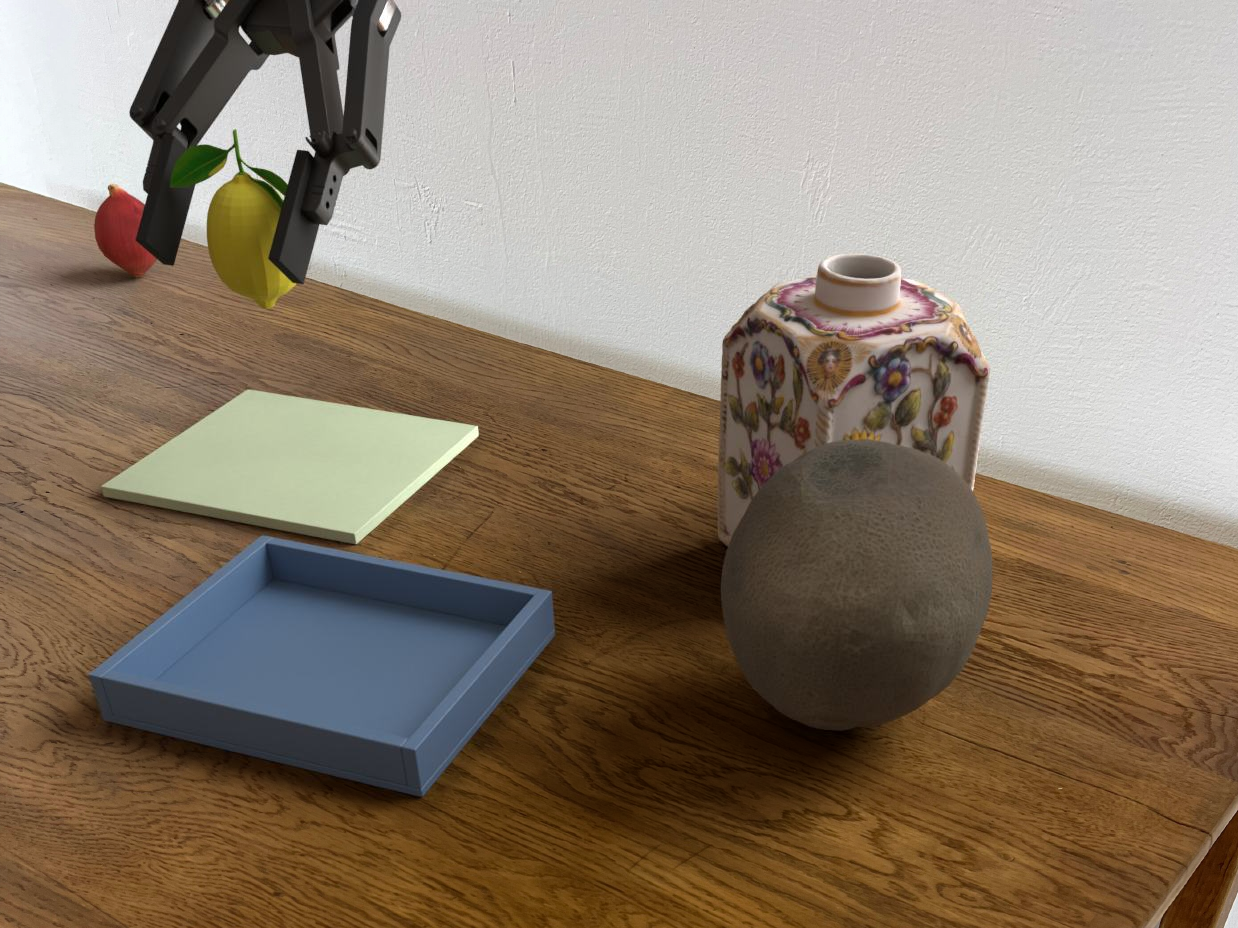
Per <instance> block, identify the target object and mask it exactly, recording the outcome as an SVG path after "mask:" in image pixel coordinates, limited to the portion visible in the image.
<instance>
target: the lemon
mask: <svg viewBox="0 0 1238 928" xmlns="http://www.w3.org/2000/svg"><path fill="white" fill-rule="evenodd" d="M232 137H233V144H232V145H231V146H230V147H229V148H227V149H225V148H224V149H223V148H221V147H217V146H215V145H211V144H198V145H197V146H193V147H190V148H188V149H187V150H186V151H185V152H184V153H183V154H182V155H181V156H180V158H179V159H178V160H177V162H176V164H175V167H174V169H173V172H172V175H171V182H170V187H171V188H173V187H188V186H192V185H195V184H196V185H197V184H200V183H202V182H204V181H207V180H208V179H210V178H212V177H213V176H214V175H216V174H217V173H219V172H220V171H221V170H223V168H224V167H225V165H226V164H227V161H228V156H229V153H230V152H231V151H232V150H234V152H235V158H236V163H237V167H238V172H236V173H235V174H234V176H233V177H232V179H231V180H229V181H227V182H225V183H223V184H222V185H221V186H220V187H219V188H218V189H217V190H216V191H215V193H214V194H213V196H212V197H211V200H210V203H209V206H208V210H207V214H206V215H207V216H206V242H207V249H208V254H209V258H210V261H211V264H212V266H213V269H214V271H215V272H216V274H217V276H218V277H219V279H220V281H221V282H222V283H223V284H224V285H225V286H226V287H227V288H228V289H230V290H231V291H232V292H234V293H236V294H237V295H240V296H242V297H244V298H246V299H247V298H248V299H250V300H252V301H254V302H255V303H256V304H257V305H258V306H259V307H260V308H261V309H265V310H269V309H272V308H274V306H275V304H276V302H277V300H278V299H279V298H280V297H282V296H284V295H286V294H288V292H290V291H291V290H292V289H293V288H294V287H295V286H296V285H298V284H297V283H292V282H291V281H290V280H289V279H288V278H287V277H286V276H285V275H284V274H283V273H282V272H281V271H280V270H279V269H278V268H277V267H276V266H275V265H274V264H273V263H272V262H271V261H270V260H269V259H268V257H269V253H270V249H271V246H272V242H273V238H274V234H275V231H276V227H277V223H278V219H279V216H280V212H281V208H282V204H283V201H284V197H285V193H286V189H287V186H288V182H286V181H285V180H284V179H283V178H282V177H281V176H280V175H278V174H277V173H275V172H273V171H271V170H268V169H265V168H259V167H254V166H250V165H249V164H248V163H246V162H245V161H244V160H243V159H242V157H241V153H240V146H239V145H240V144H239V139H238V132H237V129H236V128H235V129H233V130H232ZM243 165H244V166H245V167H247V168H248V169H249V170H250V171H252V172H253V173H255V174H256V175H257V176H258V177H259V178H261V179H262V180H261V179H259V178H254V177H252V175H250V173H249V172H246V171H245V170H244V167H243ZM196 185H195V186H196ZM281 195H282V196H283V197H282V196H281Z"/></svg>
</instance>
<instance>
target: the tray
mask: <svg viewBox="0 0 1238 928" xmlns="http://www.w3.org/2000/svg"><path fill="white" fill-rule="evenodd" d="M553 601H554V600H553V591H552V590H548V589H544V588H539V587H533V586H529V585H525V584H517V583H512V582H507V581H502V580H497V579H492V578H486V577H483V576H482V577H481V576H476V575H471V574H465V573H460V572H455V571H449V570H446V569H439V568H436V567H435V568H434V567H429V566H425V565H419V564H414V563H409V562H404V561H403V562H402V561H399V560H392V559H387V558H382V557H377V556H372V555H366V554H362V553H357V552H350V551H347V550H346V551H345V550H341V549H335V548H332V547H331V548H330V547H325V546H321V545H315V544H309V543H304V542H299V541H294V540H289V539H283V538H278V537H273V536H269V535H264V534H263V535H260V536H259V537H257V539H255V540H254V541H253V542H251V543H250V544H248V546H247V547H245V548H244V549H242V551H240V552H239V553H238V554H236V555H235V556H234V557H233V558H231V559H230V560H229V561H228V562H226V563H225V564H223V566H221V568H219V569H217V571H216V572H214V573H213V574H211V575H210V576H209V577H208V578H207V579H206V580H204V581H203V582H202V583H201V584H199V585H198V586H197V587H195V588H194V589H193V590H192V591H191V592H189V593H188V594H187V595H185V596H184V597H183V598H182V599H180V600H179V601H177V603H176V604H174V605H173V606H172V607H170V608H169V609H168V610H167V611H166V612H164V613H163V614H162V615H161V616H159V617H158V618H157V619H156V620H154V621H153V622H152V623H151V624H149V625H148V626H147V627H146V628H144V629H143V630H142V631H140V632H139V633H138V634H137V635H135V636H134V637H133V638H132V639H130V640H129V641H128V642H127V643H125V644H124V645H123V646H122V647H121V648H119V649H118V650H117V651H115V652H114V653H113V654H112V655H110V656H109V657H108V658H107V659H106V660H104V661H103V662H102V663H100V664H99V665H98V666H96V668H94V669H93V670H92V671H90V672H89V673H88V678H89V681H90V684H91V687H92V690H93V692H94V696H95V698H96V701H97V704H98V707H99V710H100V713H101V716H102V719H103V721H104V722H109V723H112V724H117V725H120V726H125V727H129V728H134V729H137V730H141V731H146V732H149V733H154V734H158V735H161V736H162V735H163V736H166V737H171V738H175V739H179V740H183V741H187V742H192V743H195V744H200V745H204V746H208V747H212V748H215V749H220V750H225V751H229V752H233V753H236V754H241V755H245V756H249V757H254V758H258V759H262V760H266V761H269V762H274V763H278V764H282V765H285V766H286V765H287V766H291V767H296V768H298V769H303V770H307V771H311V772H315V773H320V774H324V775H329V776H332V777H337V778H341V779H344V780H348V781H353V782H357V783H362V784H365V785H369V786H374V787H377V788H382V789H386V790H391V791H395V792H399V793H401V794H402V793H403V794H407V795H411V796H414V797H419V798H424V796H425V795H426V794H427V792H428V791H429V790H430V789H431V787H432V786H433V785H434V784H435V783H436V782H437V780H438V779H439V778H440V776H441V775H443V773H444V772H445V770H446V769H447V768H448V767H449V765H450V764H451V763H452V762H453V761H454V760H455V758H456V757H457V756H458V755H459V753H460V752H461V751H462V750H463V748H464V747H465V746H466V745H467V743H469V742H470V740H471V739H472V738H473V736H474V735H475V734H476V733H477V732H478V730H480V728H481V726H483V724H484V723H485V722H486V720H487V719H488V718H489V717H490V716H491V715H492V713H493V712H494V711H495V709H496V708H497V707H498V706H499V705H500V703H501V702H502V701H503V700H504V698H505V697H506V696H507V695H508V694H509V692H510V691H511V690H512V689H513V688H514V687H515V685H516V684H517V683H518V682H519V680H520V679H521V678H522V676H523V675H525V673H526V672H527V670H528V669H529V668H530V667H531V666H532V665H533V663H534V662H535V661H536V659H537V658H538V657H539V656H540V655H541V653H542V652H543V651H544V650H545V648H546V647H547V646H548V645H549V644H550V642H551V641H552V640H553V639H554V638H555V636H556V630H555V616H554V615H555V614H554V602H553Z"/></svg>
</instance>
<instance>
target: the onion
mask: <svg viewBox="0 0 1238 928" xmlns="http://www.w3.org/2000/svg"><path fill="white" fill-rule="evenodd" d="M107 190H108V193H109V196H107V197H106V198H105V199H104V200H103V201H102V203H100V205H99V207H98V209H97V211H96V213H95V217H94V224H93V230H94V239H95V241H96V245H97V247H98V249H99V251H100V252H101V253H102V254H103V256H104V257H105V258H106V259H108V260H109V261H110V262H111V263H113V264H114V265H115V266H117V267H118V268H120V269H122V270H124V272H127V273H128V274H129V275H131V276H132V277H134V278H142V277H143V276H144V275H145V274H146V273H147V272H148V271H149V270H150V269H151V268H152V267H153V266H154V265H155V263H156V262H157V261H158V259H156V258H155V257H154V256H153V255H152V254H151V253H149V252H148V251H147V250H146V249H145V248H144V247H142V246H141V245H140V244H139V243H138V242H137V241H135V240H136V236H137V232H138V228H139V225H140V221H141V217H142V214H143V210H144V206H145V203H144V202H142V200H140V199H138V198H137V197H135V196H134V195H132V194H130V193H128V192H127V191H126V190H124V189H123V188H121V186H119V185H118V184H115V183H110V184H108V186H107Z"/></svg>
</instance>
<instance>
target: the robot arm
mask: <svg viewBox="0 0 1238 928" xmlns="http://www.w3.org/2000/svg"><path fill="white" fill-rule="evenodd" d="M350 18H352V19H351V24H350V32H349V33H350V35H349V45H348V58H347V70H346V71H347V72H346V82H345V93H344V94H345V95H344V105H343V104H342V96H341V89H340V82H339V76H338V71H339V70H340V61H339V55H338V49H337V41H336V34H337V32H339V30H340V29H341V28H342V27H343V26H344V25H345V24H346V23H347V22H348V21H349V20H350ZM401 20H402V12H401V10H400V9H399V7H398V5H397V4H396V2H395V0H177V3H176V6H175V8H174V10H173V13H172V14H171V16H170V18H169V21H168V23H167V26H166V27H165V30H164V32H163V34H162V37H161V39H160V41H159V43H158V46H157V48H156V50H155V52H154V54H153V56H152V59H151V61H150V63H149V66H148V68H147V70H146V72H145V75H144V76H143V79H142V81H141V84H140V85H139V87H138V90H137V91H136V95H135V97H134V99H133V102H132V103H131V105H130V107H129V111H128V112H129V117H130V119H131V120H132V121H133V122H134V123H135V124H136V125H137V126H138V127H139V128H140V129H141V130H142V131H143V132H144V133H145V134H146V135H147V136H148V137H149V138H150V139H151V140H152V146H151V148H150V152H149V157H148V160H147V164H146V165H147V166H146V167H145V172H144V175H143V180H142V190H143V191H144V192H145V194H147V195H146V199H145V203H144V204H145V206H144V210H143V214H142V217H141V221H140V225H139V228H138V232H137V236H136V240H135V241H137V242H138V243H139V244H140V245H141V246H142V247H144V248H145V249H146V250H147V251H148V252H149V253H151V254H152V255H153V256H154V257H155V258H156V259H157V261H158V262H160V263H161V264H162V265H165V266H171V267H174V266H175V263H176V258H177V255H178V251H179V249H180V244H181V240H182V238H183V237H182V236H183V234H184V229H185V225H186V221H187V218H188V215H189V211H190V206H191V203H192V200H193V195H194V192H195V188H196V185H197V184H195V185H192V186H188V187H173V188H171V187H170V182H171V175H172V172H173V169H174V167H175V164H176V162H177V160H178V159H179V158H180V156H181V155H182V154H183V153H184V152H185V151H186V150H187V149H188V148H190V147H193V146H197V145H199V144H200V142H201V141H202V139H203V138H204V136H205V135H206V134H207V132H208V131H209V129H210V128H211V126H212V125H213V124H214V122H215V121H216V119H217V118H218V116H219V115H220V114H221V112H222V111H223V110H224V108H225V107H226V105H227V104H228V103H229V101H230V100H231V98H232V97H233V96H234V94H235V93H236V91H237V90H238V89H239V87H240V86H241V84H242V83H243V81H244V80H245V79H246V78H247V76H248V74H249V73H250V72H251V71H258V70H260V69H261V68H262V67H263V65H264V64H265V63H266V61H267V60H268V58H269V57H270V56H279V55H284V54H289V55H292V56H294V57H296V58H298V60H299V61H298V62H299V69H300V74H301V81H302V89H303V94H304V101H305V109H306V114H307V115H306V117H307V122H308V129H309V137H308V136H305V141H306V143H307V144H308V145H309V146H310V147H311V148H312V150H313V151H314V155H313V154H312V153H311V152H310V150H305V149H296V151H295V152H296V153H295V156H294V160H293V163H292V167H291V171H290V175H289V179H288V182H287V184H288V186H287V189H286V193H285V196H283V200H284V201H283V204H282V208H281V212H280V216H279V219H278V223H277V227H276V231H275V234H274V238H273V242H272V246H271V249H270V253H269V257H268V259H269V260H270V261H271V262H272V263H273V264H274V265H275V266H276V267H277V268H278V269H279V270H280V271H281V272H282V273H283V274H284V275H285V276H286V277H287V278H288V279H289V280H290V281H291V282H292V283H297V284H296V285H304V284H305V281H306V277H307V274H308V270H309V267H310V262H311V258H312V255H313V251H314V248H315V247H314V246H315V244H316V240H317V236H318V232H319V228H320V225H321V226H328V225H329V223H330V221H331V220H332V219H333V216H334V212H335V208H336V204H337V201H338V197H339V193H340V189H341V186H342V181H343V178H344V177H345V176H346V175H348V173H349V172H350V170H352V169H354V168H358V167H363V168H364V169H366V170H373V169H375V168H377V167H378V166H379V164H380V162H381V159H382V158H381V157H382V145H383V132H384V121H385V120H384V119H385V109H386V98H387V97H386V96H387V86H388V85H387V84H388V72H389V58H390V49H391V44H392V42H393V39H394V37H395V34H396V32H397V29H398V28H399V25H400V22H401ZM240 28H241V30H242V32H243V33H244V35H246V37H247V38H248V40H250V42H249V43H248V42H247V41H246V39H245V38H244V37H243V36H242V35H241V33H240ZM179 125H180V128H179V127H178V126H179ZM309 138H310V139H309Z"/></svg>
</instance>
